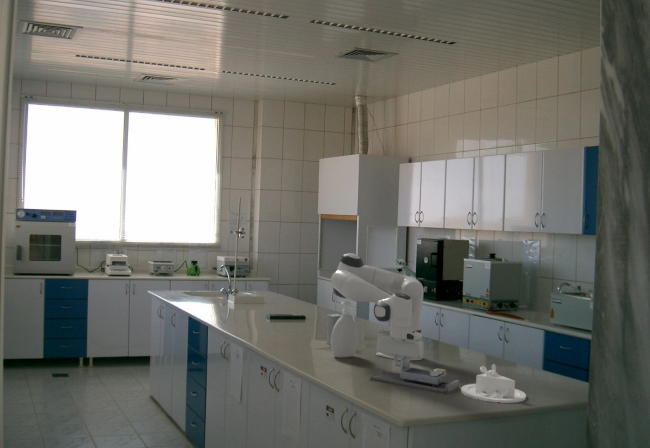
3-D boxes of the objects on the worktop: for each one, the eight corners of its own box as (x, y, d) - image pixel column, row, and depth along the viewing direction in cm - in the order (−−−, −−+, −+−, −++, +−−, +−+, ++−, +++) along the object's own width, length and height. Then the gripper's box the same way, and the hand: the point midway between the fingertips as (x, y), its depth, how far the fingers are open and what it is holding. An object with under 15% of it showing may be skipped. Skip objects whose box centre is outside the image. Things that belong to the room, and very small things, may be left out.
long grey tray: (398, 382, 269) (399, 360, 269) (408, 377, 277) (409, 356, 277) (437, 389, 260) (438, 366, 260) (446, 384, 269) (447, 362, 269)
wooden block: (433, 380, 278) (433, 369, 278) (436, 378, 282) (437, 368, 282) (442, 382, 276) (442, 371, 276) (445, 380, 280) (446, 369, 280)
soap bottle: (351, 354, 325) (354, 299, 324) (360, 357, 317) (363, 301, 317) (325, 355, 318) (328, 299, 318) (333, 359, 311) (336, 301, 311)
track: (370, 379, 274) (370, 372, 274) (383, 374, 285) (383, 367, 285) (448, 393, 257) (448, 386, 257) (458, 387, 267) (459, 380, 267)
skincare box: (343, 346, 344) (345, 315, 344) (331, 346, 341) (332, 315, 341) (337, 343, 352) (339, 313, 352) (325, 343, 349) (326, 313, 349)
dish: (448, 392, 260) (450, 364, 260) (483, 383, 278) (484, 357, 278) (504, 407, 243) (505, 376, 243) (537, 397, 260) (538, 368, 260)
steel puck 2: (432, 377, 267) (432, 369, 267) (435, 375, 270) (435, 368, 270) (439, 378, 266) (440, 371, 266) (443, 377, 269) (443, 369, 269)
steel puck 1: (428, 379, 264) (428, 371, 264) (431, 377, 267) (431, 370, 267) (436, 380, 262) (436, 373, 262) (439, 379, 265) (439, 371, 265)
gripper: (374, 330, 277) (372, 363, 277) (419, 337, 266) (418, 371, 266) (381, 328, 282) (379, 360, 282) (425, 335, 272) (424, 368, 272)
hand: (398, 366), depth 274 cm, fingers closed
